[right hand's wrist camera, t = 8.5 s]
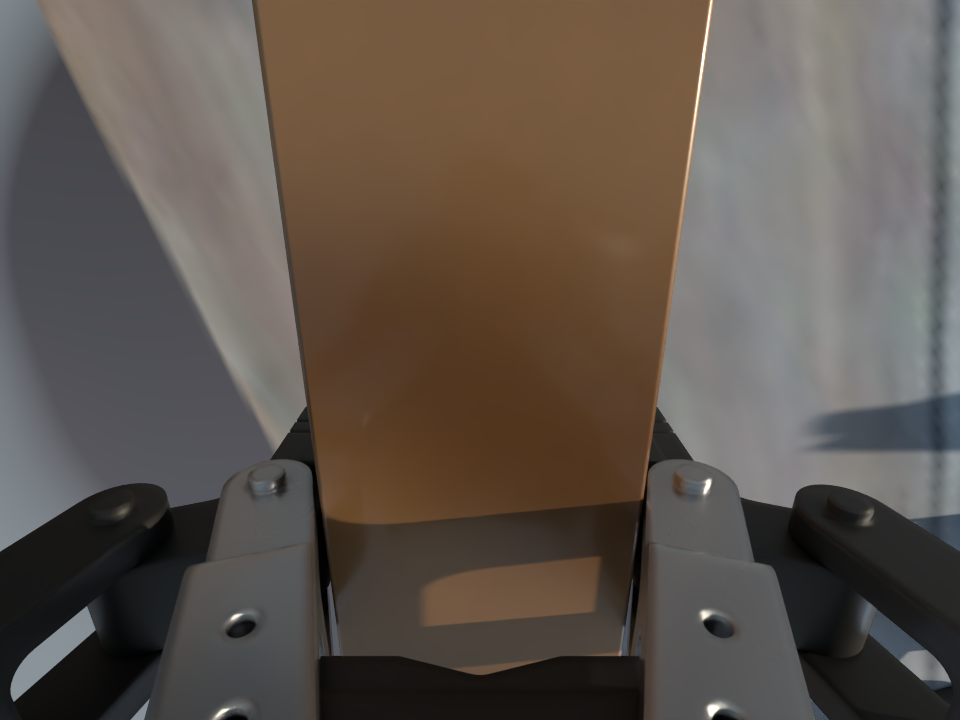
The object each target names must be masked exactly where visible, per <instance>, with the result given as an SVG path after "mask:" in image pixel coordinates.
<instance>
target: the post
mask: <svg viewBox="0 0 960 720" xmlns="http://www.w3.org/2000/svg"><path fill="white" fill-rule="evenodd" d="M713 4H714V0H252V5H253V12H254V20H255V27H256V34H257V42H258V49H259V57H260V64H261V71H262V79H263V86H264V93H265V101H266V108H267V115H268V123H269V130H270V137H271V145H272V152H273V160H274V167H275V174H276V182H277V189H278V196H279V204H280V211H281V218H282V226H283V233H284V240H285V248H286V255H287V263H288V270H289V277H290V285H291V292H292V299H293V307H294V314H295V321H296V329H297V336H298V344H299V351H300V358H301V366H302V373H303V380H304V388H305V395H306V402H307V410H308V417H309V424H310V432H311V439H312V447H313V454H314V461H315V469H316V476H317V483H318V491H319V498H320V505H321V513H322V520H323V527H324V535H325V542H326V550H327V557H328V564H329V572H330V579H331V586H332V593H333V601H334V608H335V616H336V623H337V630H338V638H339V645H340V653H341V656H401V657H405V658H409V659H413V660H417V661H421V662H425V663H429V664H433V665H437V666H441V667H445V668H450V669H454V670H458V671H462V672H466V673H470V674H475V675H485V674H490V673H494V672H498V671H502V670H506V669H510V668H515V667H519V666H523V665H527V664H531V663H535V662H539V661H543V660H547V659H551V658H555V657H559V656H621V653H622V646H623V639H624V631H625V624H626V617H627V610H628V603H629V596H630V589H631V582H632V575H633V568H634V561H635V554H636V547H637V540H638V533H639V526H640V519H641V512H642V505H643V498H644V491H645V483H646V476H647V469H648V462H649V455H650V448H651V441H652V434H653V427H654V420H655V413H656V406H657V399H658V392H659V385H660V378H661V371H662V364H663V357H664V350H665V343H666V335H667V328H668V321H669V314H670V307H671V300H672V293H673V286H674V279H675V272H676V265H677V258H678V251H679V244H680V237H681V230H682V223H683V216H684V209H685V202H686V195H687V187H688V180H689V173H690V166H691V159H692V152H693V145H694V138H695V131H696V124H697V117H698V110H699V103H700V96H701V89H702V82H703V75H704V68H705V61H706V54H707V47H708V39H709V32H710V25H711V18H712V11H713Z"/></svg>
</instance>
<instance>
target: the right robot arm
mask: <svg viewBox="0 0 960 720" xmlns="http://www.w3.org/2000/svg"><path fill="white" fill-rule="evenodd" d="M632 579H633V585H632V592H631V599H630V612H629V627H628V642H627V656H559V657H555V658H551V659H547V660H543V661H539V662H535V663H531V664H527V665H523V666H519V667H515V668H510V669H506V670H502V671H498V672H494V673H490V674H485V675H475V674H470V673H466V672H462V671H458V670H454V669H450V668H445V667H441V666H437V665H433V664H429V663H425V662H421V661H417V660H413V659H409V658H405V657H401V656H333V642H332V627H331V612H330V599H329V592H328V586H329V583H330V581H331V579H330V572H329V564H328V557H327V550H326V542H325V535H324V527H323V520H322V513H321V505H320V498H319V491H318V483H317V476H316V469H315V461H314V454H313V447H312V439H311V432H310V424H309V417H308V410H307V407H305V409H304V410H303V412H302V413H301V415H300V416H299V418H298V419H297V422H295V424H294V425H293V427H292V428H291V430H290V433H288V434H287V436H286V437H285V439H284V440H283V442H282V443H281V445H280V446H279V448H278V449H277V451H276V452H275V454H274V455H273V457H272V458H271V460H269V461H264V462H260V463H257V464H253V465H251V466H248V467H246V468H244V469H242V470H240V471H239V472H237V473H235V474H234V475H233V476H231V477H230V478H229V479H228V480H227V481H226V483H225V484H224V486H223V488H222V491H221V495H220V498H218V499H214V500H210V501H205V502H200V503H194V504H190V505H184V506H179V507H174V508H170V506H169V502H168V498H167V495H166V492H165V491H164V490H163V489H162V488H161V487H159V486H157V485H153V484H147V483H136V484H127V485H122V486H117V487H113V488H110V489H107V490H104V491H101V492H99V493H96V494H94V495H92V496H90V497H88V498H86V499H84V500H82V501H81V502H79V503H77V504H76V505H74V506H73V507H71V508H69V509H68V510H66V511H65V512H63V513H61V514H60V515H58V516H57V517H55V518H53V519H52V520H50V521H49V522H47V523H45V524H44V525H42V526H41V527H39V528H37V529H36V530H34V531H33V532H31V533H29V534H28V535H26V536H25V537H23V538H21V539H20V540H18V541H17V542H15V543H13V544H12V545H10V546H9V547H7V548H5V549H4V550H2V551H1V552H0V720H131V719H132V717H133V716H134V715H135V714H136V713H137V712H138V711H139V710H140V708H141V707H142V706H143V705H144V704H145V703H146V702H147V701H148V700H149V699H150V700H149V704H148V708H147V712H146V715H145V719H144V720H816V719H815V715H814V712H813V708H812V704H811V700H812V701H813V702H814V703H815V704H816V705H817V706H818V707H819V709H820V710H821V711H822V712H823V713H824V714H825V715H826V716H827V717H828V719H829V720H960V552H959V551H958V550H956V549H955V548H953V547H951V546H950V545H948V544H947V543H945V542H943V541H942V540H940V539H939V538H937V537H935V536H934V535H932V534H931V533H929V532H927V531H926V530H924V529H923V528H921V527H919V526H918V525H916V524H915V523H913V522H911V521H910V520H908V519H907V518H905V517H903V516H902V515H900V514H899V513H897V512H896V511H894V510H892V509H891V508H889V507H888V506H886V505H884V504H883V503H881V502H879V501H877V500H876V499H874V498H872V497H869V496H867V495H865V494H862V493H860V492H857V491H854V490H851V489H847V488H843V487H839V486H833V485H810V486H806V487H803V488H802V489H800V490H799V491H798V492H797V494H796V496H795V500H794V503H793V507H792V508H787V507H782V506H776V505H771V504H766V503H761V502H756V501H752V500H747V499H744V498H741V497H740V495H739V491H738V488H737V486H736V484H735V483H734V481H733V480H732V479H731V478H730V477H729V476H727V475H726V474H725V473H723V472H721V471H720V470H718V469H716V468H714V467H712V466H709V465H707V464H704V463H700V462H696V461H694V460H693V459H692V457H691V456H690V455H689V453H688V452H687V450H686V449H685V447H684V446H683V444H682V443H681V441H680V440H679V438H678V437H677V435H676V434H675V433H673V430H672V428H671V427H670V425H669V424H668V423H666V419H665V418H664V416H663V415H662V413H661V412H660V411H659V409H658V408H657V407H656V413H655V420H654V427H653V434H652V441H651V448H650V455H649V462H648V469H647V476H646V483H645V491H644V498H643V505H642V512H641V519H640V526H639V533H638V540H637V547H636V554H635V561H634V568H633V575H632ZM86 606H87V607H88V609H89V612H90V615H91V618H92V620H93V623H94V626H95V629H96V630H95V631H94V632H93V633H92V634H91V635H90V636H89V637H87V638H86V639H85V640H84V641H83V642H82V643H81V644H80V645H78V646H77V647H76V648H75V649H74V650H73V651H71V652H70V653H69V654H68V655H67V656H66V657H65V658H63V659H62V660H61V661H60V662H59V663H58V664H57V665H56V666H54V667H53V668H52V669H51V670H50V671H49V672H48V673H46V674H45V675H44V676H43V677H42V678H41V679H40V680H38V681H37V682H36V683H35V684H34V685H33V686H32V687H30V688H29V689H28V690H27V691H26V692H25V693H24V694H22V695H21V696H20V697H19V698H18V699H17V700H16V701H15V702H13V700H12V697H11V693H10V687H11V682H12V679H13V676H14V674H15V672H16V670H17V668H18V667H19V665H20V664H21V663H22V661H23V660H24V659H25V658H26V656H27V655H28V654H29V653H30V652H31V651H33V650H34V649H35V648H36V647H37V646H38V645H40V644H41V643H42V642H43V641H45V640H46V639H47V638H48V637H49V636H51V635H52V634H53V633H54V632H56V631H57V630H58V629H59V628H60V627H62V626H63V625H64V624H65V623H67V622H68V621H69V620H70V619H71V618H73V617H74V616H75V615H76V614H77V613H79V612H80V611H81V610H82V609H84V608H85V607H86ZM877 609H878V610H879V611H880V612H881V613H883V614H884V615H885V616H886V617H887V618H889V619H890V620H891V621H892V622H893V623H895V624H896V625H897V626H898V627H900V628H901V629H902V630H903V631H904V632H906V633H907V634H908V635H909V636H911V637H912V638H913V639H914V640H915V641H917V642H918V643H919V644H920V645H922V646H923V647H924V648H925V649H926V650H928V651H929V652H930V653H931V654H932V655H933V656H934V657H935V658H936V659H937V660H938V661H939V662H940V663H941V665H942V666H943V667H944V669H945V671H946V672H947V674H948V676H949V678H950V680H951V683H952V687H948V688H943V689H939V690H936V691H933V690H932V689H931V688H930V687H928V686H927V685H926V684H925V683H924V682H923V681H922V680H920V679H919V678H918V677H917V676H916V675H915V674H914V673H912V672H911V671H910V670H909V669H908V668H907V667H906V666H904V665H903V664H902V663H901V662H900V661H899V660H898V659H897V658H895V657H894V656H893V655H892V654H891V653H890V652H889V651H887V650H886V649H885V648H884V647H883V646H882V645H881V644H879V643H878V642H877V641H876V640H875V639H874V638H873V637H871V636H870V635H869V634H868V633H869V630H870V627H871V625H872V622H873V619H874V617H875V614H876V611H877ZM810 699H811V700H810Z"/></svg>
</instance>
